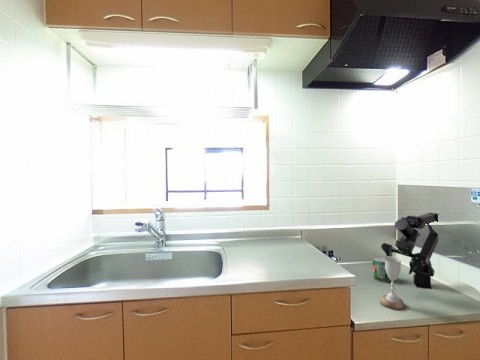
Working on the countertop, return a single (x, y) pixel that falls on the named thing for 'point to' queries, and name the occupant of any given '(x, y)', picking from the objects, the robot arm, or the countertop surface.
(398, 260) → the chalice
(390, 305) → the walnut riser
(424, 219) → the robot arm
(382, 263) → the canned tomato
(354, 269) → the countertop surface
